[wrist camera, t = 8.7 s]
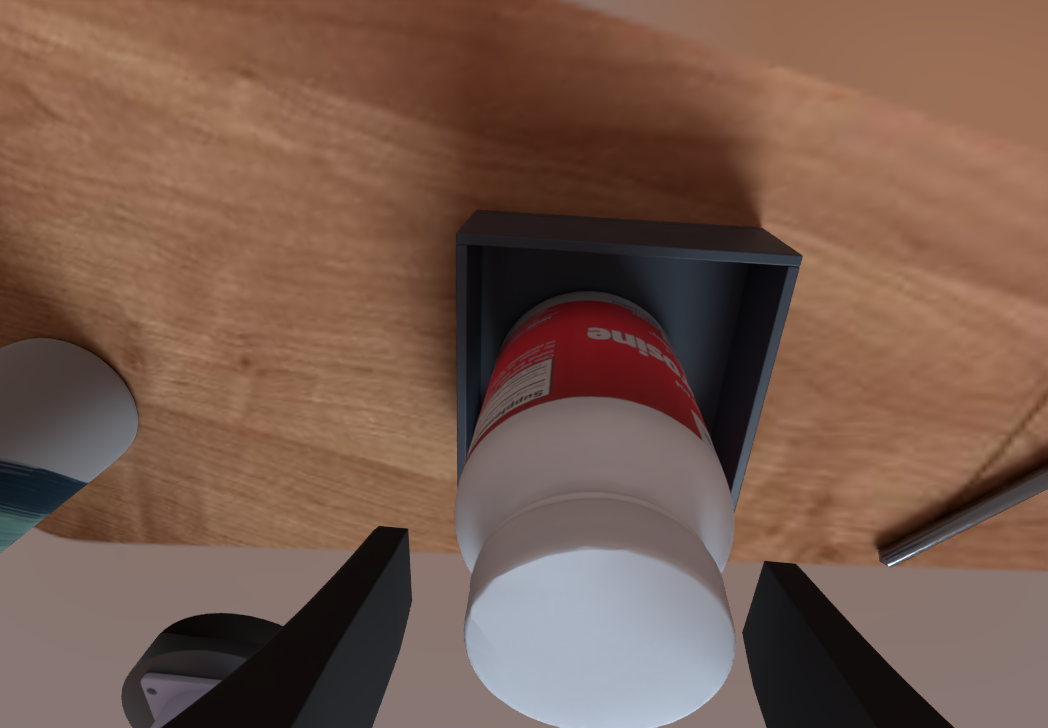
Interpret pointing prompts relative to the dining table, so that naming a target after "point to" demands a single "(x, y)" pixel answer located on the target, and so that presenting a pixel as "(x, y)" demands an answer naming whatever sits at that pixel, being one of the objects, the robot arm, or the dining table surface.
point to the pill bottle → (595, 524)
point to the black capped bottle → (55, 428)
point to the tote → (648, 281)
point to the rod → (966, 517)
